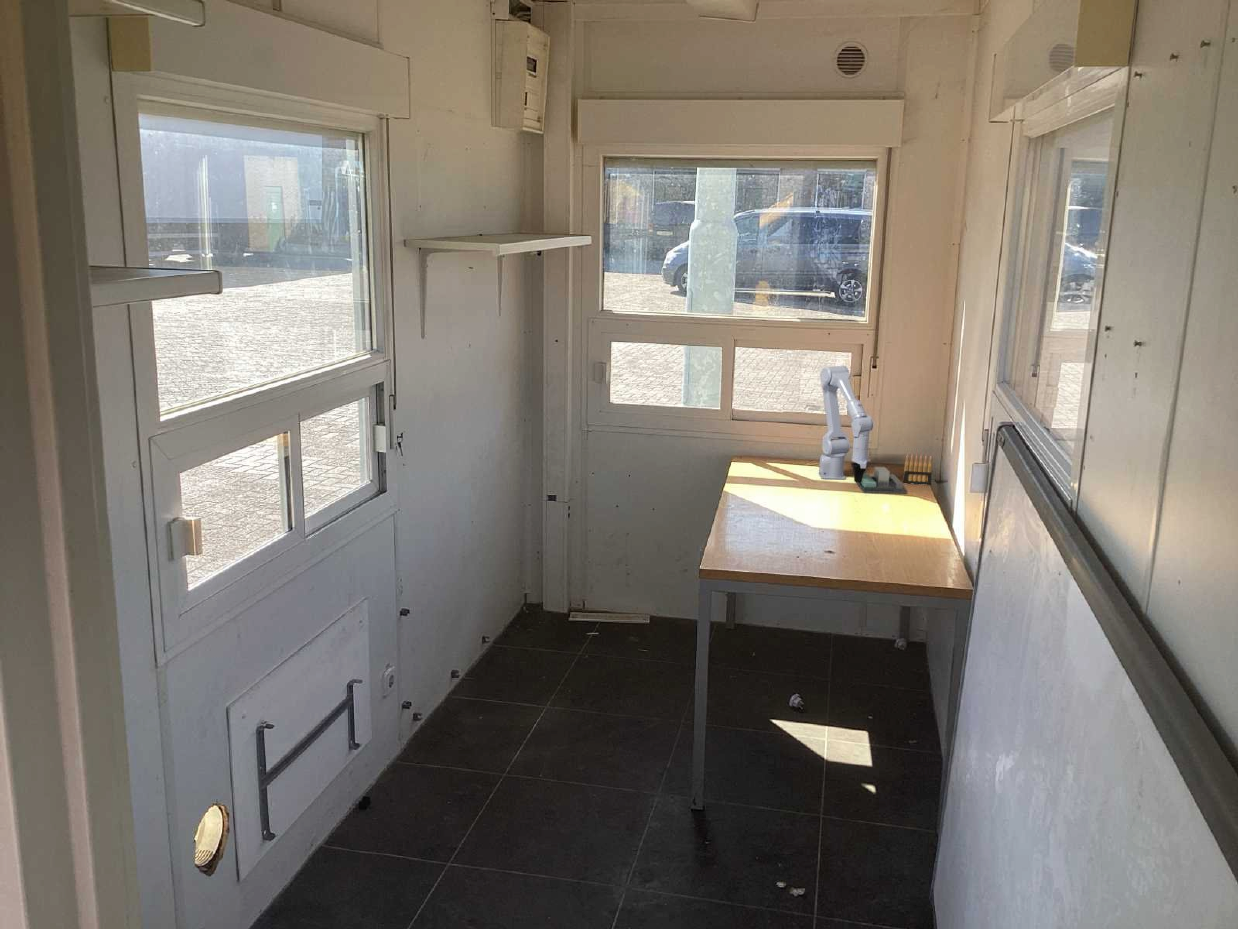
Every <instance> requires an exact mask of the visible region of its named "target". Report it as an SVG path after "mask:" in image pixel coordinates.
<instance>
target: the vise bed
mask: <svg viewBox="0 0 1238 929" xmlns="http://www.w3.org/2000/svg"><path fill="white" fill-rule="evenodd" d="M870 476H871V475H870ZM871 478H872V479H873V480H874V475H873V476H871ZM853 481H854V482H855V479H854V478H853ZM855 484H856V485H857V487H858V488H859V489H860V490H861V491H862V492H863V494H879V493H885V494H886V495H887V494H889V495H891V494H892V495H893V494H894V495H896V494H897V495H907V490H906V489H905V487H904V486H903V481H901V480H900V479H899V478H898V477H897V476H896V475H895V474H893V473H889V484H888V487H878V486H877V485H876V487H864V486H863V485H862V484H861V482H855Z"/></svg>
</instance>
